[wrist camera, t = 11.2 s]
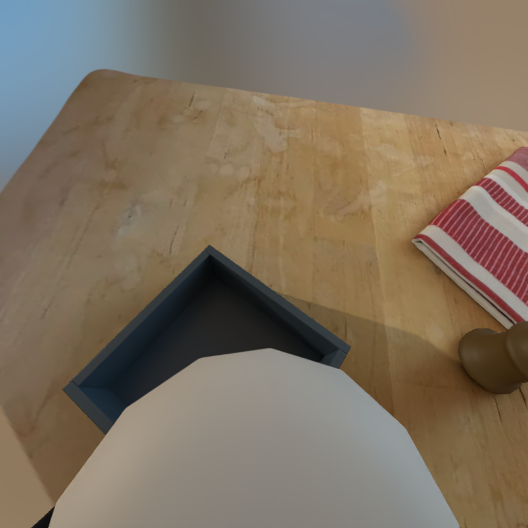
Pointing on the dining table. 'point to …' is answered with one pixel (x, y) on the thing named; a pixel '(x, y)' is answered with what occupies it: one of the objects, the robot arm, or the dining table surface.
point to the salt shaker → (255, 455)
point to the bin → (196, 335)
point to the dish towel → (487, 240)
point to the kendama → (496, 357)
